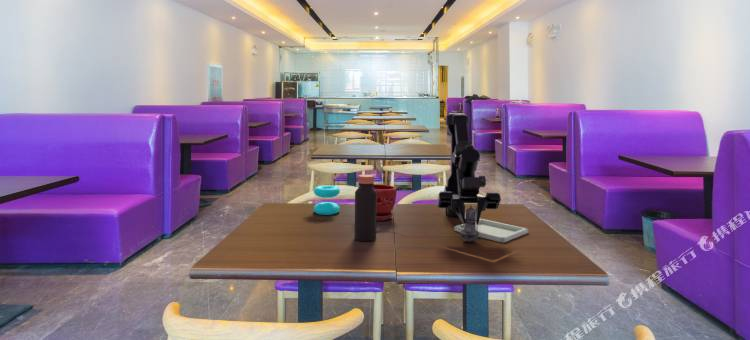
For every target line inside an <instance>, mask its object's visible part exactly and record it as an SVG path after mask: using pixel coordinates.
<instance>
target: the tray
mask: <svg viewBox="0 0 750 340" xmlns="http://www.w3.org/2000/svg"><path fill="white" fill-rule="evenodd" d="M464 228H465V224H463V223H461V224H457V225H455V226H454V228H453V230H454V231H455V232H457V233H460V231H461V230H464ZM478 232H479V233H480V234H479V235H478V238H483V239H487V240H490V241H494V242H499V243H502V244H504V243H506V242H509V241H511V240H513V239H516V238H519V237H522V236H524V235H526V234H528V233H529V228H527V227H522V226H518V225H512V224H508V223H503V222H499V221H495V220H490V219H484V218H480V219H479V224H478Z"/></svg>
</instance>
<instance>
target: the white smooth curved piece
mask: <svg viewBox="0 0 750 340" xmlns="http://www.w3.org/2000/svg"><path fill="white" fill-rule="evenodd" d="M465 219H466V211H465ZM475 220H476V215H475ZM475 229H476V231H478V225H477V224H476V222H475Z"/></svg>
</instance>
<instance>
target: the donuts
mask: <svg viewBox="0 0 750 340" xmlns="http://www.w3.org/2000/svg"><path fill="white" fill-rule="evenodd" d="M340 191H341V189H340V188H339V187H338V186H335V185H327V184H326V185H319V186H315V187H314V189H313V194H314V195H315V196H316V197H319V198H325V199H326V198H335V197H337V196H338V195H339V194H340V193H341V192H340ZM340 210H341V209H340V205H339V204H337V203H335V202H330V201H324V202H318V203H317V204H315V205H314V207H313V212H314V213H315V214H317V215H323V216H331V215H336V214H338V213H339V212H340Z"/></svg>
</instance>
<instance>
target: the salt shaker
mask: <svg viewBox="0 0 750 340" xmlns="http://www.w3.org/2000/svg"><path fill="white" fill-rule="evenodd" d="M465 212H466V219H465V228H464V230H461V231H460V232H459V233H460V237H461V238H462V239H463V241H465V243H467V244H472V243H474V242H475V241H476V240H478V239H479V237H478V235H479V234H480V233H479V232H478V231H476V229H475V222H476V220H475V215H476V208H475V209H474V208H473V206H472V205H470V206H469V207H468V208H467V209H465Z"/></svg>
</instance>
